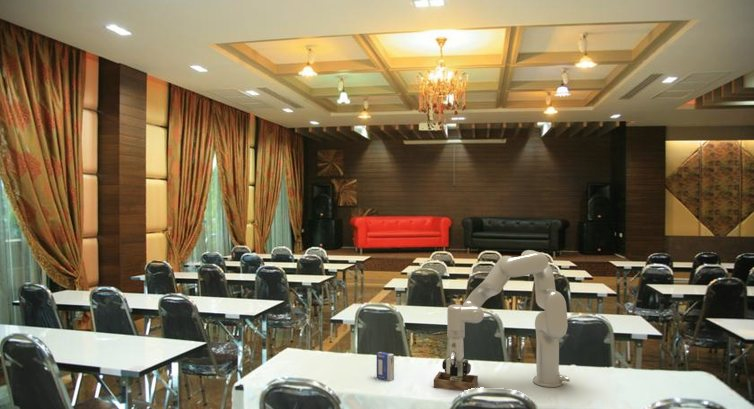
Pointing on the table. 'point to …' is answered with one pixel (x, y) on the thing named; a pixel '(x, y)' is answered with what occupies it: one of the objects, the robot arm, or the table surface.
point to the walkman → (385, 366)
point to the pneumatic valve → (462, 369)
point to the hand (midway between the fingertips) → (455, 372)
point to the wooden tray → (455, 382)
